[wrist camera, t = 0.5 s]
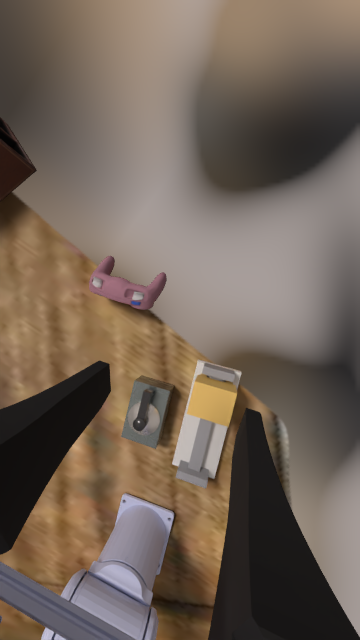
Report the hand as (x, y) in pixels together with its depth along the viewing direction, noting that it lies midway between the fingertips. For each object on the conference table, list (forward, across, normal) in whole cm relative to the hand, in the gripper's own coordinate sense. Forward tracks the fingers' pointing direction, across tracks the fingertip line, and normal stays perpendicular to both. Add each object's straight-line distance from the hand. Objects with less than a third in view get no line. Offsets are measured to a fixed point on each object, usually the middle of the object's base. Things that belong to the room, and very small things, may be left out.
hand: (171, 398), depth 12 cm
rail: (+15, -2, +19) cm, 24 cm away
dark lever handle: (+12, +6, +17) cm, 22 cm away
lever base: (+14, +6, +20) cm, 25 cm away
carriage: (+16, -2, +15) cm, 22 cm away
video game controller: (+22, +13, +5) cm, 27 cm away
